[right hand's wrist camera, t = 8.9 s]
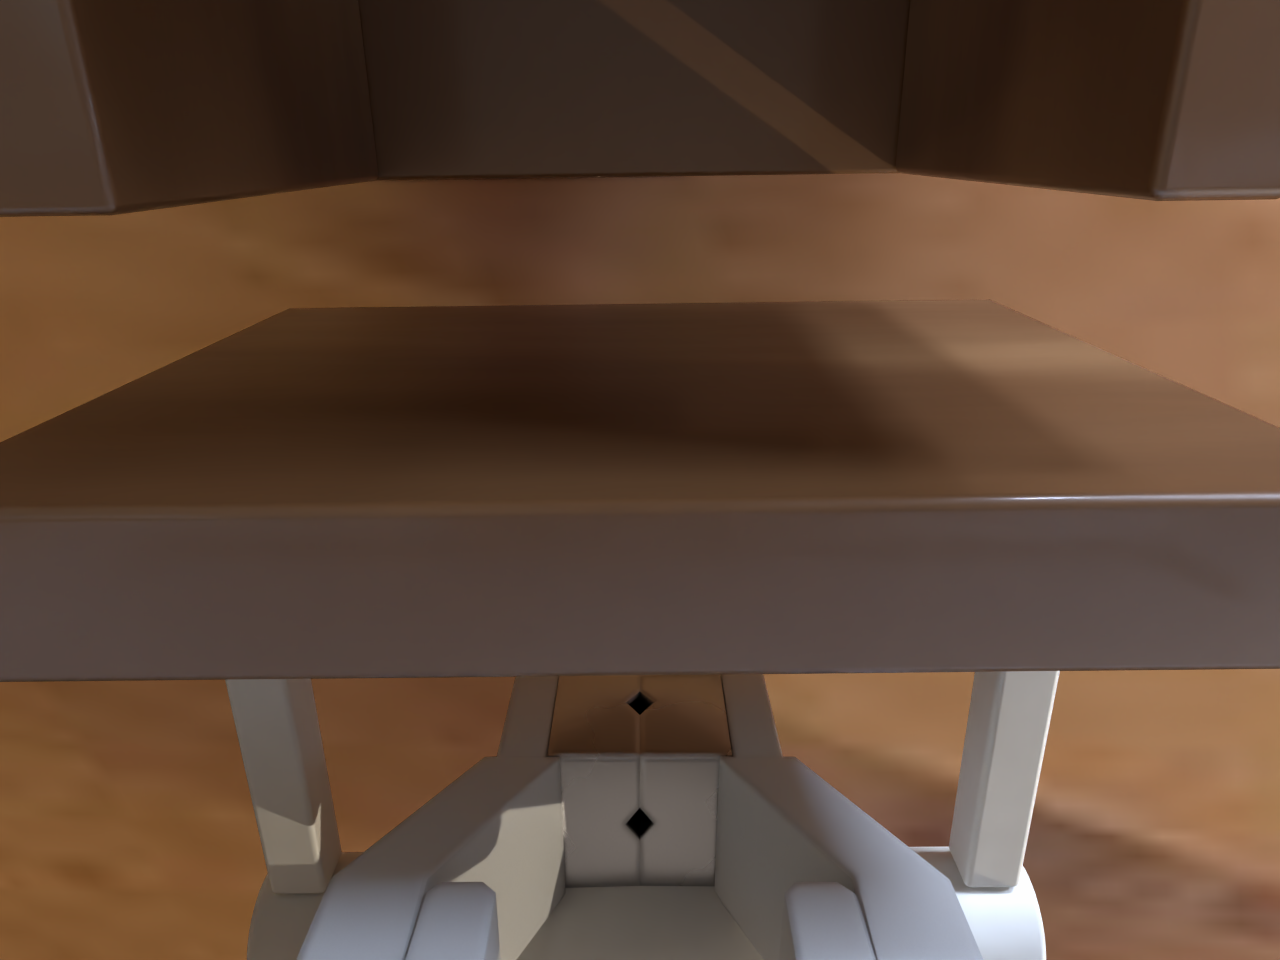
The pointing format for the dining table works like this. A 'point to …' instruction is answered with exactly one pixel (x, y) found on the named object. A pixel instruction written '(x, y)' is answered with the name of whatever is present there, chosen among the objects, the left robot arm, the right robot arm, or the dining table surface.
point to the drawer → (638, 395)
